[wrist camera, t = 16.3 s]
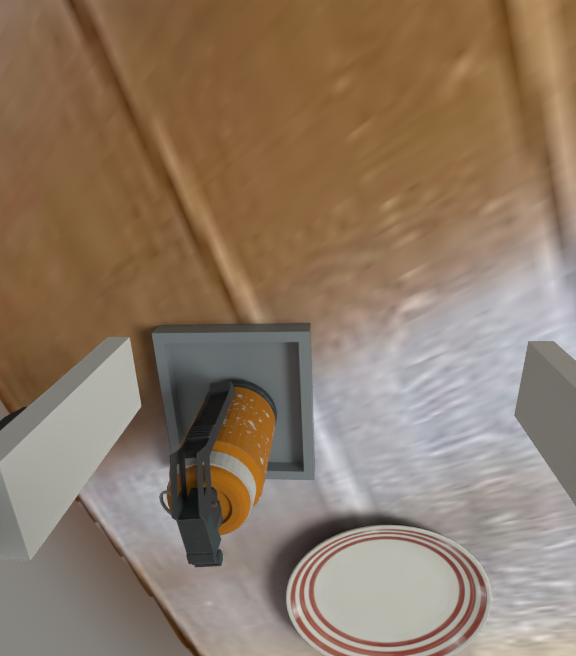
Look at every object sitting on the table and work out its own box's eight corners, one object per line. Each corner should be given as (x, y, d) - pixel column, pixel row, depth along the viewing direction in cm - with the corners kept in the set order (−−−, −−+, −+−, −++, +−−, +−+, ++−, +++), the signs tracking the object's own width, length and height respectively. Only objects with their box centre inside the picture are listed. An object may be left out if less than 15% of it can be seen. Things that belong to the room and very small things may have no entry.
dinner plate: (509, 524, 58) (519, 545, 55) (459, 663, 68) (466, 687, 65) (297, 495, 59) (296, 513, 56) (279, 635, 69) (277, 658, 66)
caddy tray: (159, 325, 52) (151, 333, 50) (310, 323, 50) (309, 331, 48) (181, 464, 59) (175, 477, 57) (314, 466, 57) (314, 479, 55)
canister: (213, 444, 56) (155, 587, 38) (192, 364, 53) (117, 479, 34) (283, 438, 55) (259, 582, 37) (267, 356, 51) (231, 470, 33)
